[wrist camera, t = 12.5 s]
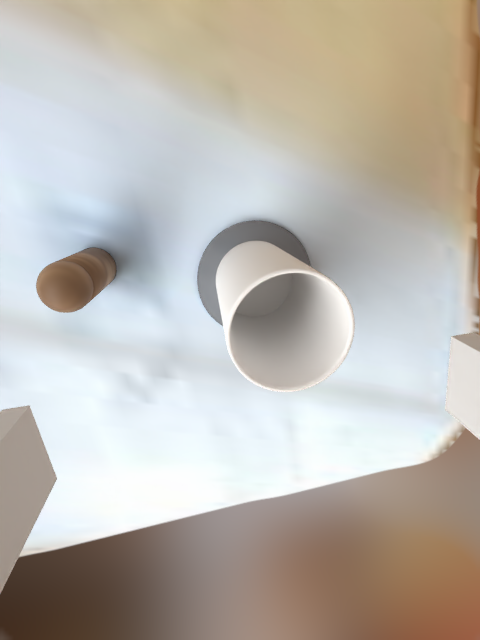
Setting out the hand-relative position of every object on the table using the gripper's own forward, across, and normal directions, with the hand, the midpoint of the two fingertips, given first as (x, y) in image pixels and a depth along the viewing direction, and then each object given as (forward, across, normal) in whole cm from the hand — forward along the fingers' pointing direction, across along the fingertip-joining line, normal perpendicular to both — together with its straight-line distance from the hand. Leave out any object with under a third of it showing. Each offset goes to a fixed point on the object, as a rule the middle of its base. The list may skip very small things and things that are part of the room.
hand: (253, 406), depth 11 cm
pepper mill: (+28, -12, +1) cm, 30 cm away
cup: (+27, +4, -3) cm, 27 cm away
